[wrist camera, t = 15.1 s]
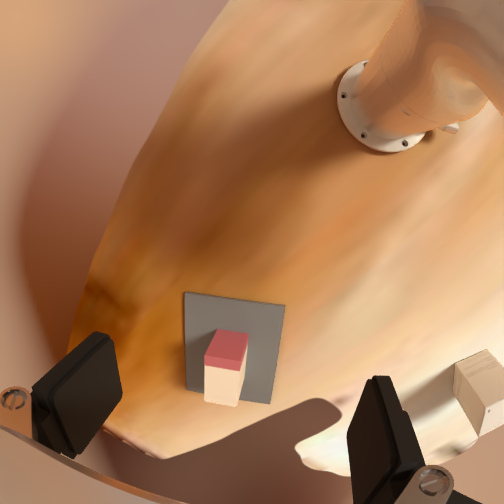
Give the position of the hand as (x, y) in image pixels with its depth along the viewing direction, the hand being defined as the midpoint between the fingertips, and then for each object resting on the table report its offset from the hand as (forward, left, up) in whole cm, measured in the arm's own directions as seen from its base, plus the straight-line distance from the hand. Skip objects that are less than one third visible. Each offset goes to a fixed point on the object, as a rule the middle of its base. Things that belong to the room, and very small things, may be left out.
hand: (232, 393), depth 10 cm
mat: (+5, +19, -30) cm, 36 cm away
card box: (+5, +19, -30) cm, 35 cm away
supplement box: (-37, +20, -31) cm, 52 cm away
